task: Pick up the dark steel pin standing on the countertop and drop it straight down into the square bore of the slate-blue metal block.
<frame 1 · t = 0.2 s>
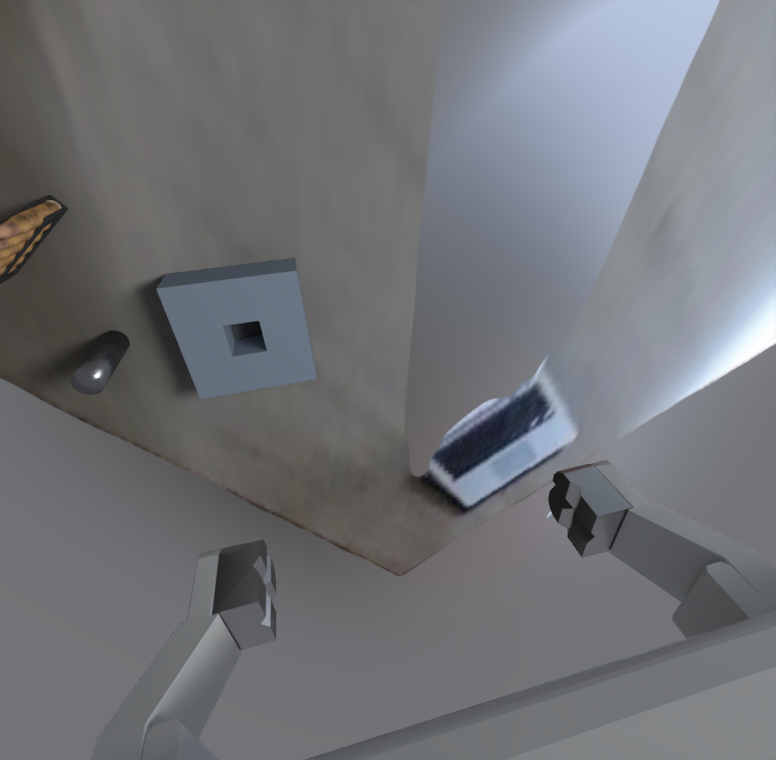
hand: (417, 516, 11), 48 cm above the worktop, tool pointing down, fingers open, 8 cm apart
steel pin: (115, 341, 54), on the worktop
bore block: (247, 322, 56), on the worktop
ammunition clip: (33, 235, 46), on the worktop
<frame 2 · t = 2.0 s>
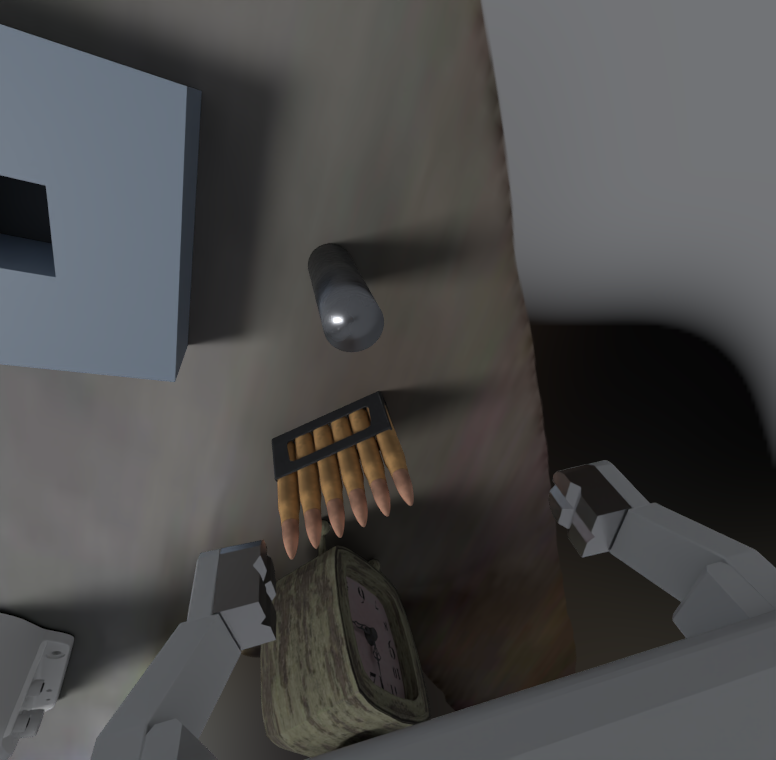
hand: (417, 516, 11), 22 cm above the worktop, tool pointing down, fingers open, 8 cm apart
steel pin: (330, 266, 29), on the worktop
bore block: (41, 203, 23), on the worktop
ammunition clip: (329, 420, 37), on the worktop
tabletop clock: (328, 551, 47), on the worktop
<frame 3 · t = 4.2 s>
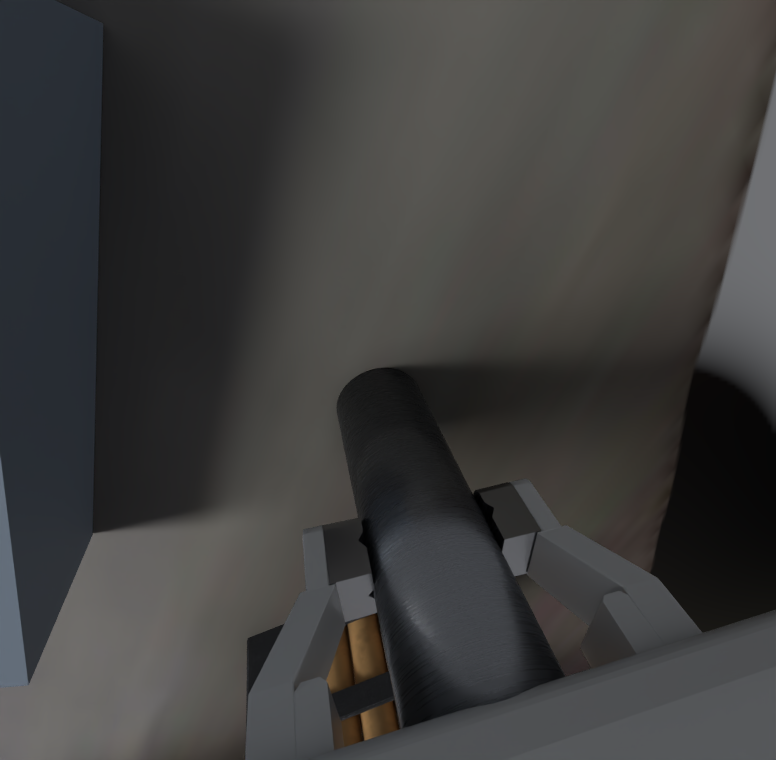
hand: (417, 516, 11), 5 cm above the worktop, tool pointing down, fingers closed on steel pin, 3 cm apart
steel pin: (379, 404, 15), on the worktop, touching gripper
ammunition clip: (343, 606, 23), on the worktop
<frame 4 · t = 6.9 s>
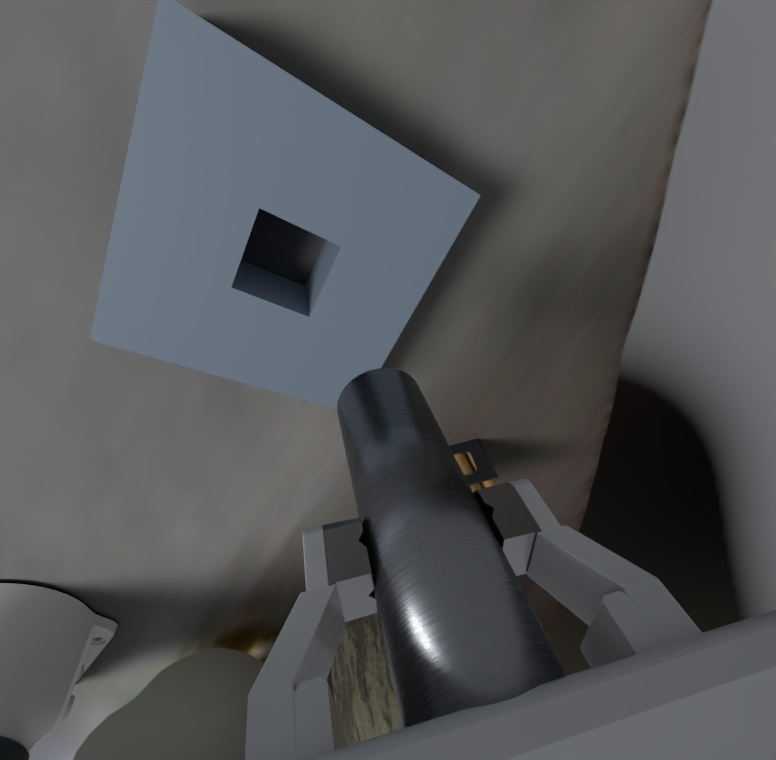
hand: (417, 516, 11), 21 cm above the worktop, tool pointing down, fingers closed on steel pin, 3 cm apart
steel pin: (379, 404, 15), point 16 cm above the worktop, touching gripper
bore block: (285, 241, 26), on the worktop
ammunition clip: (427, 456, 41), on the worktop
tabletop clock: (375, 572, 50), on the worktop
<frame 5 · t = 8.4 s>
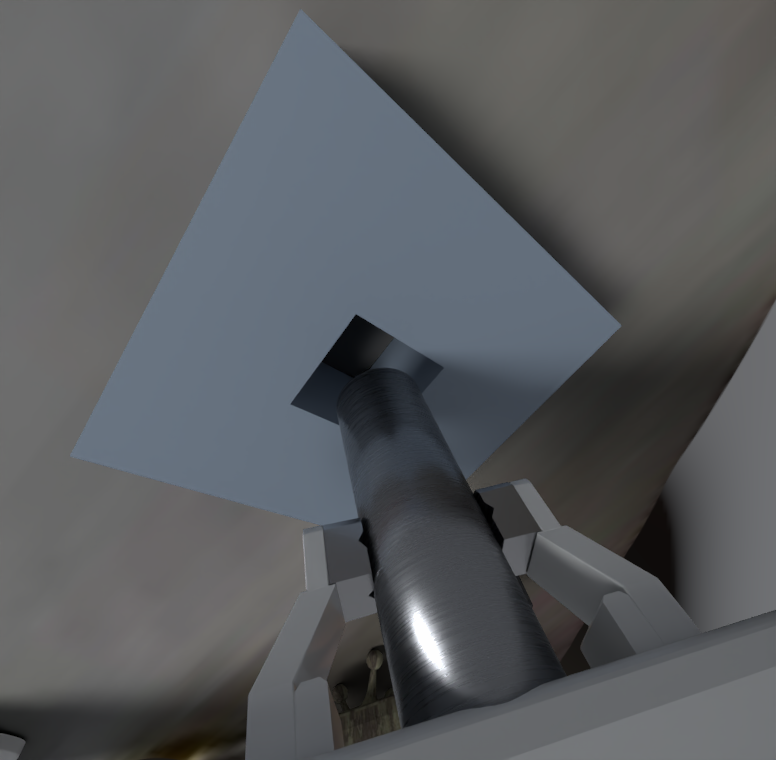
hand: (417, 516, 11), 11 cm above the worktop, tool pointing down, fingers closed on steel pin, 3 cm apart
steel pin: (378, 404, 15), point 6 cm above the worktop, touching gripper
bore block: (349, 330, 20), on the worktop
tabletop clock: (356, 676, 43), on the worktop
when the fingers open (7 cm above the worktop, at t = 9.6 s): steel pin drops 2 cm, resting in bore block.
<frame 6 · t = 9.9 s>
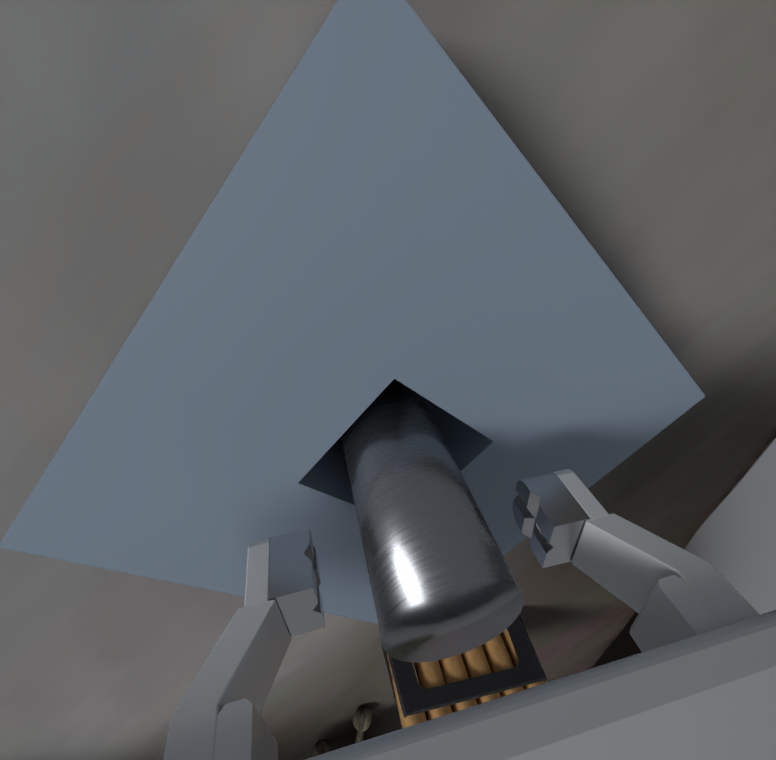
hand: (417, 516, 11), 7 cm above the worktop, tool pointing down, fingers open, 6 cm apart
steel pin: (368, 375, 17), resting in bore block
bore block: (369, 376, 17), on the worktop
ammunition clip: (448, 621, 31), on the worktop
tabletop clock: (339, 732, 39), on the worktop
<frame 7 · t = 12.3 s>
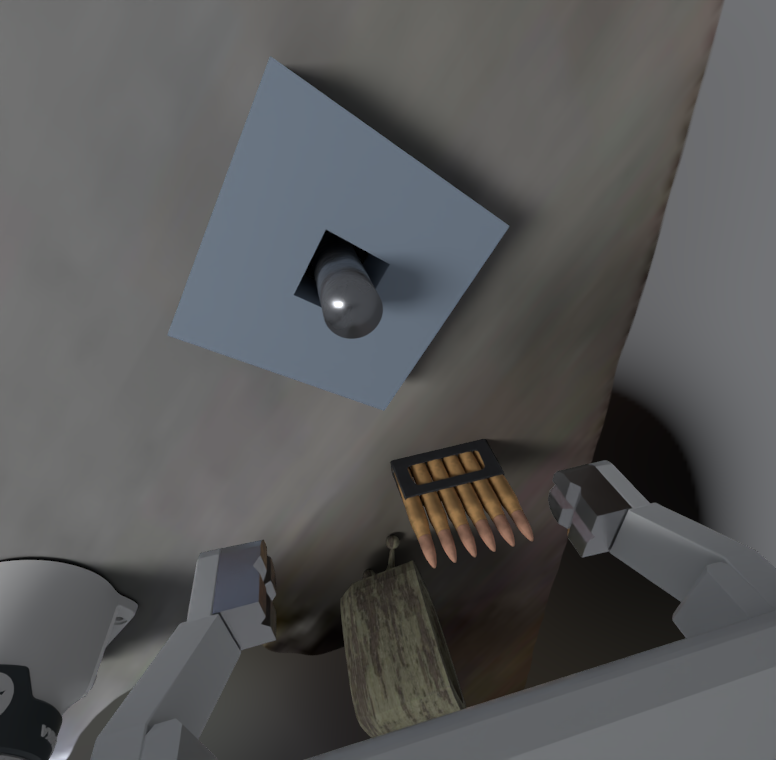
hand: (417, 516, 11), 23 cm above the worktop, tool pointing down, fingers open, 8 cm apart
steel pin: (332, 255, 30), resting in bore block
bore block: (333, 255, 30), on the worktop
ammunition clip: (438, 454, 44), on the worktop
tabletop clock: (381, 563, 53), on the worktop
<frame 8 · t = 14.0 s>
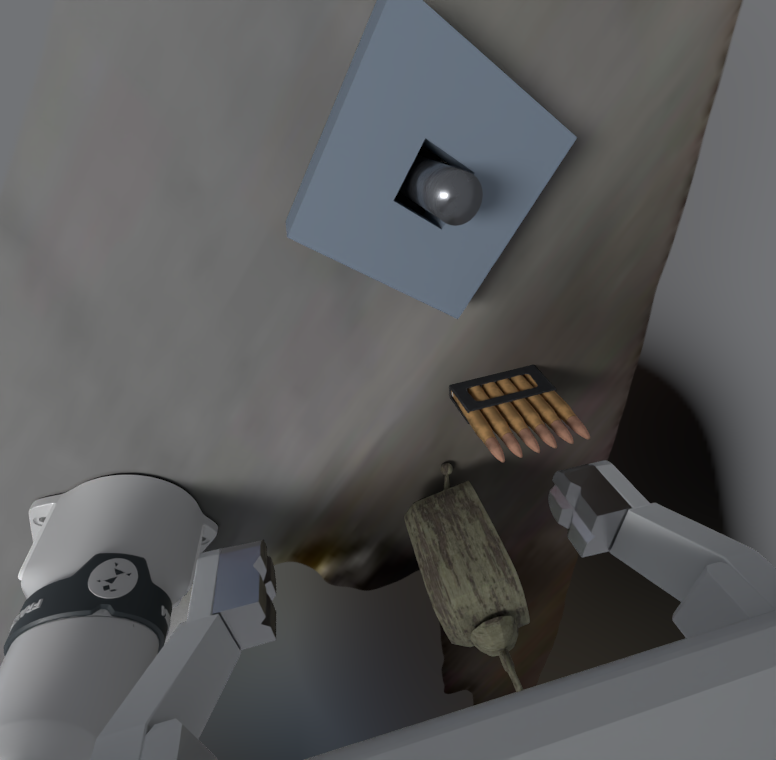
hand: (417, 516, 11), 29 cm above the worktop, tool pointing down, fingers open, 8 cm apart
steel pin: (414, 177, 34), resting in bore block
bore block: (414, 177, 34), on the worktop
ammunition clip: (491, 380, 48), on the worktop
tabletop clock: (433, 493, 57), on the worktop
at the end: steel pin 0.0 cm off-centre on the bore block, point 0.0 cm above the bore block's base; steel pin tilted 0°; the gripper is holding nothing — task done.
